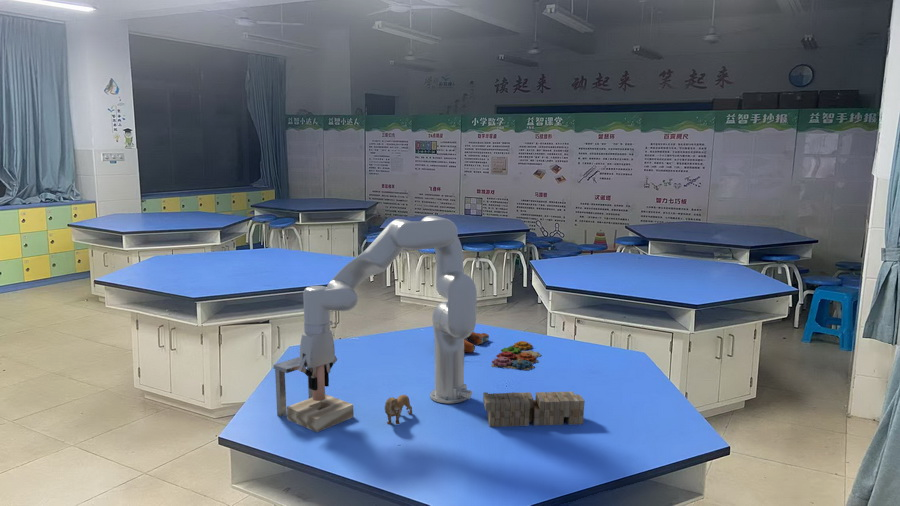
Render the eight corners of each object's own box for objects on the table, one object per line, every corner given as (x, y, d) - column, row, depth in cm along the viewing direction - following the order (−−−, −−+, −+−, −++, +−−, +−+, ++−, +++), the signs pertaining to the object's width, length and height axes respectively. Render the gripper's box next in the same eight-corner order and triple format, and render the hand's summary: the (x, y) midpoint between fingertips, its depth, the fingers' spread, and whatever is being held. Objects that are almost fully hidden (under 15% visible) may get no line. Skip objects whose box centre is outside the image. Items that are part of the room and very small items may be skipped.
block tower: (576, 417, 198) (481, 416, 196) (578, 391, 197) (482, 390, 195) (583, 428, 190) (484, 427, 189) (585, 401, 189) (485, 400, 187)
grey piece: (328, 406, 204) (326, 356, 202) (288, 421, 193) (286, 369, 190) (315, 401, 208) (313, 352, 206) (275, 415, 197) (273, 364, 194)
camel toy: (433, 352, 255) (475, 361, 251) (439, 319, 255) (482, 328, 251) (446, 349, 279) (485, 357, 275) (452, 318, 280) (491, 327, 276)
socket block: (353, 417, 196) (353, 404, 195) (316, 432, 185) (316, 419, 185) (323, 405, 205) (323, 393, 204) (287, 419, 194) (286, 406, 194)
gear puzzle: (507, 344, 270) (507, 335, 270) (546, 348, 266) (546, 338, 265) (489, 368, 241) (489, 357, 241) (532, 372, 236) (532, 361, 236)
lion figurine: (398, 431, 186) (398, 401, 185) (381, 428, 188) (380, 399, 186) (415, 411, 200) (414, 383, 199) (398, 409, 202) (398, 382, 200)
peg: (327, 398, 194) (326, 363, 193) (318, 401, 192) (317, 366, 190) (319, 395, 197) (319, 360, 195) (310, 398, 194) (309, 363, 192)
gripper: (331, 320, 199) (332, 377, 202) (286, 331, 187) (288, 392, 190) (347, 324, 195) (348, 382, 197) (302, 336, 182) (304, 398, 185)
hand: (318, 386), depth 193 cm, fingers closed on peg, 3 cm apart
